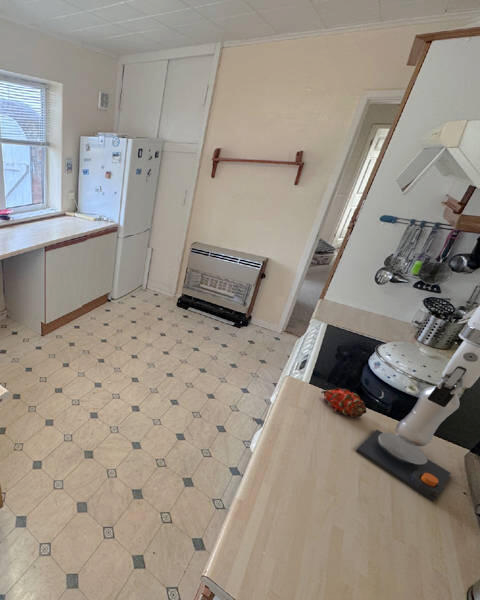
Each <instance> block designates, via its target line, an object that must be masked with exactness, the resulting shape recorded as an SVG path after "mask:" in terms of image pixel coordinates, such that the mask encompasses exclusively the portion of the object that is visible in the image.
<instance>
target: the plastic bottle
mask: <svg viewBox="0 0 480 600" xmlns="http://www.w3.org/2000/svg"><path fill="white" fill-rule="evenodd" d="M443 379H444V378H443V377H442V376H441V378H440V379H439V380H438V381H437V382H436V385H432V386H429V387H426V388H424V389H423V390H421V392H420V393H419V394H420V395H419V396H418V399H417V401H416V403H415V405H414V407H413V408H412V409H411V411H410V412H409V413H408V414H407V415H406V416H405V417H404V418H403V419H401V420H400V421H399V422H397V423H396V425H395V428H394V430H395V431H394V432H395V435H397V436H398V437H399V438H401V439H402V440H403V441H405V442H407V443H408V444H411V445H413V446H417V447H419V448H420V447H426V446H427V445H428V444H430V443H431V441H432V440H433V437H434V434H435V433H436V431H437V430H438V428H439V426H440V425H441V424H442V423H443V422H444V421H445V420H446V419H447V418H448V417H449V416H450V415H452V414H454V412H456V411H457V410H458V409H459V408H460V404H461V403H460V398H459V396H458V394H460V393H461V391H462V390H463V388H464V385H462V384H461V385H460V386H459V388H458V389H457V390H456V391H455V393H454V394H455V395H454V397H453V398H452V399H451V400H450V402H449V403H448V404H447V406H446V407H442V406H440V405H438V404H436V403H434V402H432V401H430V400H428V397H429V396H430V394H431V393H432V391H433V390H434V389H435V387H436V386H439V384H440V383H441V382H442V380H443ZM447 381H448V380H447ZM447 381H446V382H447ZM457 382H458V381H457ZM459 383H460V381H459ZM456 385H457V384H454V386H456Z"/></svg>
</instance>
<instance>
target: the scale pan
mask: <svg viewBox="0 0 480 600" xmlns="http://www.w3.org/2000/svg"><path fill="white" fill-rule="evenodd" d="M378 442H379V444H380V445H381V447H382V448H383V449H384V450H385V451H386V452H388V453H389V454H390V455H392V456H393V457H395V458H396V459H398V460H400V461H402V462H404V463H407V464H410V465H413V466H423V465H425V464H426V463H427V459H428V457H427V454H426V453H425V452H424V451H423V450H422V449H421V448H420V447H418V446H413V445H411V444H408V443H407V442H405V441H403V440H402V439H401V438H399V437H398V436H397V434H396V433H391V432H382V434H380V435H379V437H378Z"/></svg>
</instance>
